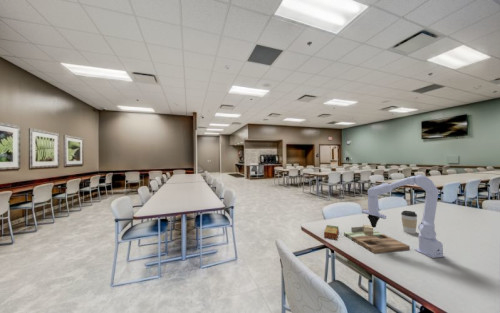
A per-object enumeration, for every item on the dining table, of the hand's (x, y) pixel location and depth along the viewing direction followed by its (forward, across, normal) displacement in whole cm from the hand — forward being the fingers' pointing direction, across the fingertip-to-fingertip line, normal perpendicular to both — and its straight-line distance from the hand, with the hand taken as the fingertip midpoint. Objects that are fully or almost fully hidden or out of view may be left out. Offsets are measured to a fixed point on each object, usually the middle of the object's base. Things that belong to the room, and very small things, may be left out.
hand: (373, 227), depth 120 cm
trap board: (+9, 0, 0) cm, 9 cm away
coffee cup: (+10, -1, -39) cm, 40 cm away
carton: (+10, +20, +15) cm, 27 cm away
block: (+7, +7, -5) cm, 11 cm away
